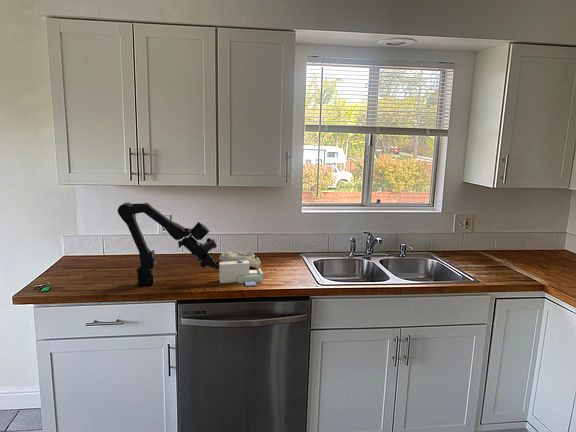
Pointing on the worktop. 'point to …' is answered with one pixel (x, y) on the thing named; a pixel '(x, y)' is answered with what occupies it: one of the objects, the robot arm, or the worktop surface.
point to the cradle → (251, 279)
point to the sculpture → (240, 258)
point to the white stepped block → (234, 270)
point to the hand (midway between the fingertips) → (218, 268)
